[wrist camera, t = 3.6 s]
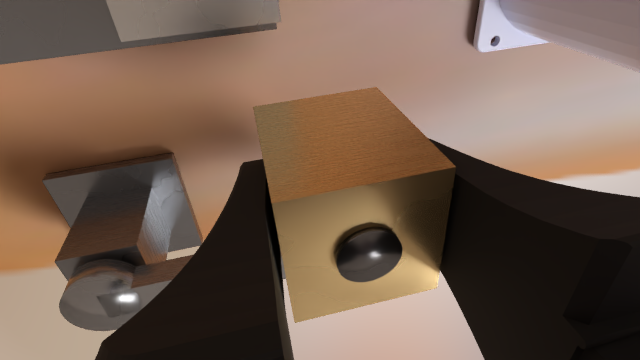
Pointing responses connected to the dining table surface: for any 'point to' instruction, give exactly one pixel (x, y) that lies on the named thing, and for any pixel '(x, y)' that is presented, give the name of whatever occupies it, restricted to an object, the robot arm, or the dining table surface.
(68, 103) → the dining table surface
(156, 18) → the press
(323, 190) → the housing
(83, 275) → the lever
